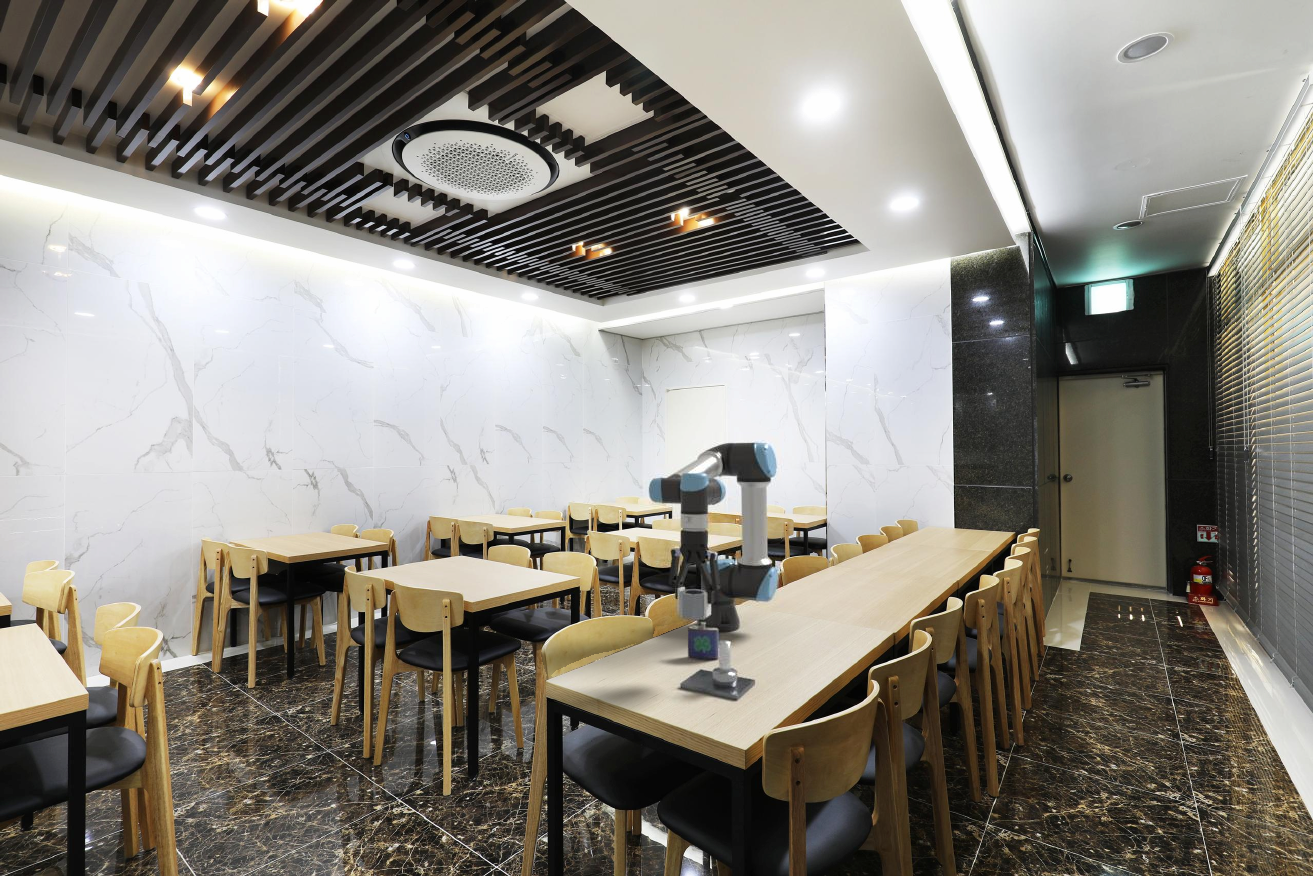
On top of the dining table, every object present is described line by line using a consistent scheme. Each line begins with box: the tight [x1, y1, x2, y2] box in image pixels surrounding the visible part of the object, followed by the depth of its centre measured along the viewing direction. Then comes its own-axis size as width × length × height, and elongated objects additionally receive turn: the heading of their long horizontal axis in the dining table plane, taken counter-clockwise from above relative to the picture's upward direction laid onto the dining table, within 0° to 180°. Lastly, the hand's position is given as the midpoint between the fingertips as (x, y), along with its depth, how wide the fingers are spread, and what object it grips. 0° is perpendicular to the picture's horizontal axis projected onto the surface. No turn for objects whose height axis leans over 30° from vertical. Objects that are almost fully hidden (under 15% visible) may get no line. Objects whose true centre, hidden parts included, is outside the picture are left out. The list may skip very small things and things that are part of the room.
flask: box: [687, 622, 720, 661], centre depth 184 cm, size 9×3×11 cm, turn 78°
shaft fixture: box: [679, 639, 756, 701], centre depth 162 cm, size 12×16×12 cm
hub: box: [678, 588, 709, 621], centre depth 168 cm, size 7×7×6 cm
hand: (694, 613), depth 168 cm, fingers closed on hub, 7 cm apart
